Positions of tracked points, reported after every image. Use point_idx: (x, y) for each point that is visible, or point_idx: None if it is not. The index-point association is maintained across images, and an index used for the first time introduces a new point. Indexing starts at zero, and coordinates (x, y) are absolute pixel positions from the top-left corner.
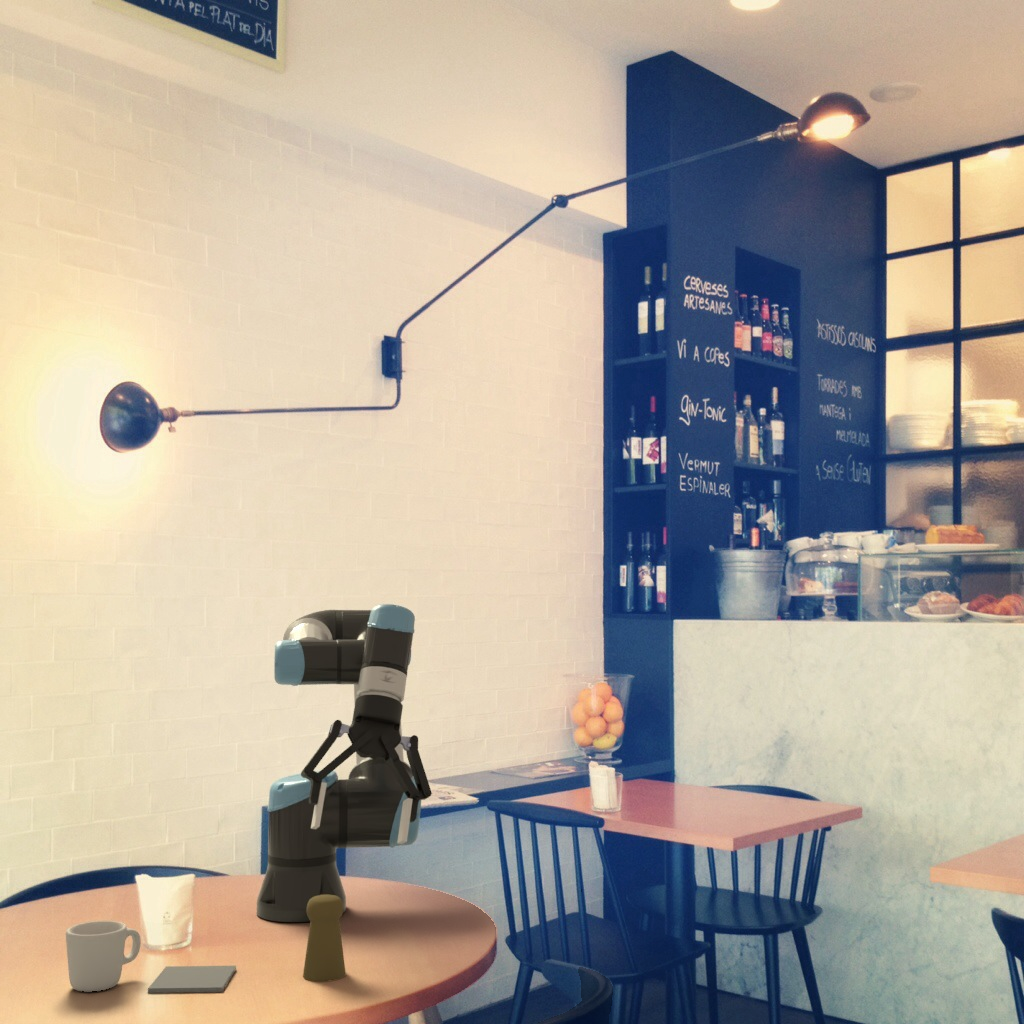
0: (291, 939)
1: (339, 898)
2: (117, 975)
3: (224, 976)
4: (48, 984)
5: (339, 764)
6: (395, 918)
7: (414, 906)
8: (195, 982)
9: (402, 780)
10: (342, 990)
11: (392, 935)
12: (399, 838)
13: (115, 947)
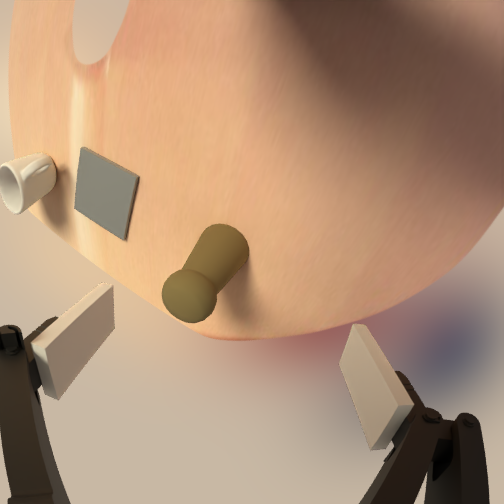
0: (229, 64)
1: (202, 317)
2: (50, 187)
3: (124, 210)
4: (26, 147)
5: (54, 465)
6: (439, 40)
7: (489, 5)
8: (103, 213)
9: (364, 496)
10: (227, 298)
11: (390, 128)
12: (351, 344)
13: (31, 204)
